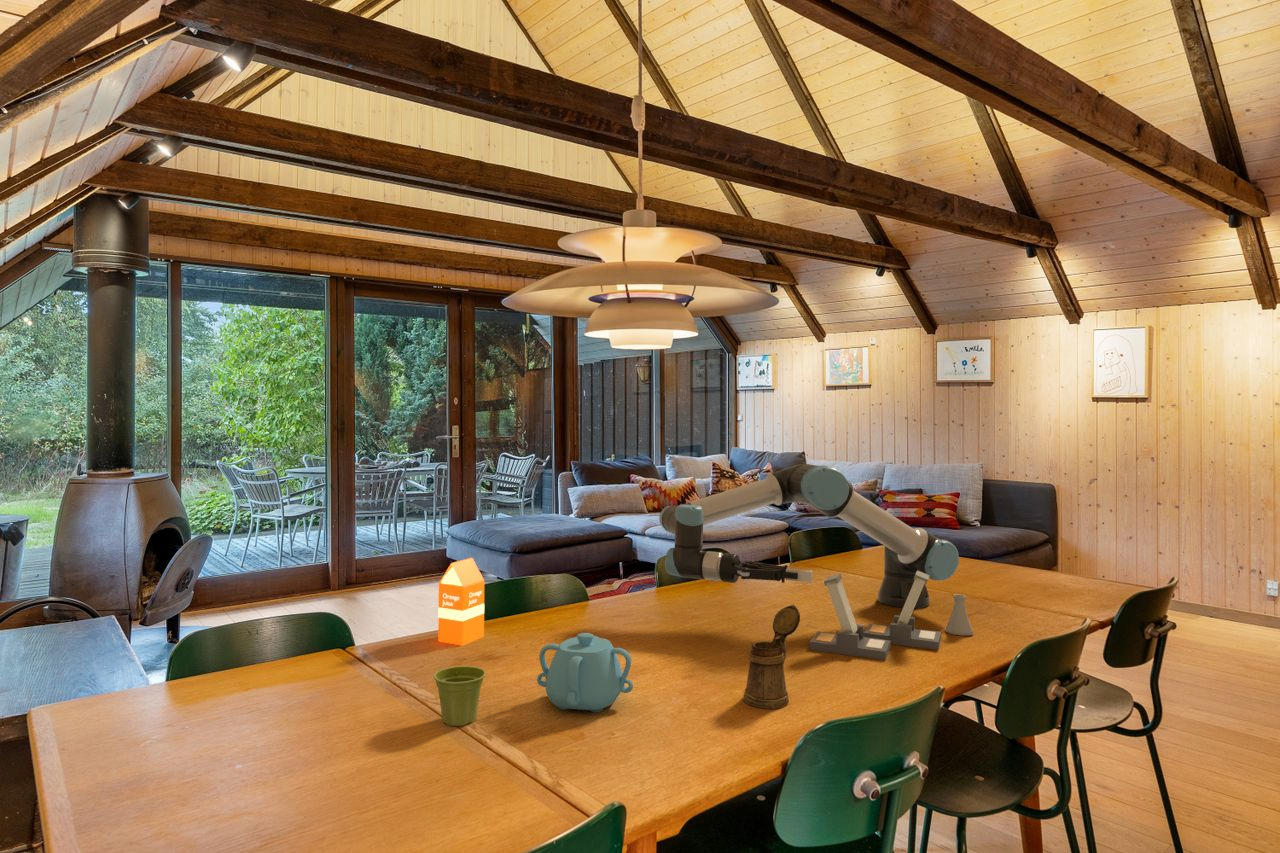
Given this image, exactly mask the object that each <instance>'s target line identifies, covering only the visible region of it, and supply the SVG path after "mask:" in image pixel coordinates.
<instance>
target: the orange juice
mask: <svg viewBox="0 0 1280 853" xmlns="http://www.w3.org/2000/svg"><path fill="white" fill-rule="evenodd" d="M483 577H484V576H482V574H481V571H480V570H479V568H478V566H477V564H476V562H475V560H474V558H473V557H469V558H466V559H465V558H464V559H461V560H457V561H454V562H451V563H450V565H449V566H448V568H447V569H446V571H445V572H444V575H443V576H442V578H441V579H440V581H439V582H438V607H437V608H438V612H437V613H438V614H437V616H438V620H437V621H438V622H437V623H438V627H437V628H438V630H437V631H438V632H437V637H438V638H437V639H438V640H437V641H438V642H439V643H446V644H452V645H456V646H457V645H458V646H463V647H464V646H465V645H468V644H470V643H471V642H474V641H477V640H480V639H481V638H483V637H484V636H485V580H484V578H483Z"/></svg>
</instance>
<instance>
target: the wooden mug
mask: <svg viewBox="0 0 1280 853" xmlns="http://www.w3.org/2000/svg"><path fill="white" fill-rule="evenodd" d="M800 622H801V614H800V611H799V609H798V608H797V606H796V605H795V604H791V605H787V606H785V607H783V608H782V609H780V610H778V611H777V613H776V615H774V619H773V622H772V630H773V632H774V637H773V638H772V640H771V642H768V641H755V642H753V643H751V649H750V650H749V654H748V660H749V668H748V672H747V680H746V685H745V686H746V687H745V688H744V689H745V690H744V691H743V692H744V693H743V701H744V703H746V704H748V705H749V706H752V707H755V708H759V709H766V710H767V709H769V710H773V709H775V710H776V709H781V708H784V707H786V706H787V705H788V704H789V692H788V691H787V684H786V675H785V666H784V664H785V661H786V658H787V637H788V636H790V635H791V636H792V634H794V633H795V631H796V630H797V629H798V627H799V624H800Z"/></svg>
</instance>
